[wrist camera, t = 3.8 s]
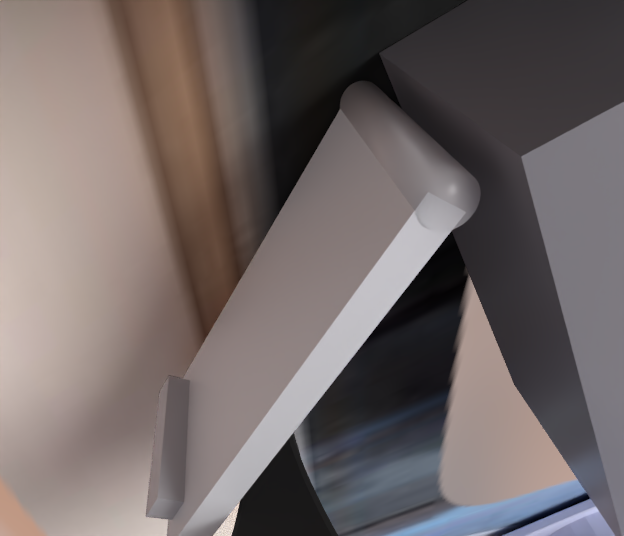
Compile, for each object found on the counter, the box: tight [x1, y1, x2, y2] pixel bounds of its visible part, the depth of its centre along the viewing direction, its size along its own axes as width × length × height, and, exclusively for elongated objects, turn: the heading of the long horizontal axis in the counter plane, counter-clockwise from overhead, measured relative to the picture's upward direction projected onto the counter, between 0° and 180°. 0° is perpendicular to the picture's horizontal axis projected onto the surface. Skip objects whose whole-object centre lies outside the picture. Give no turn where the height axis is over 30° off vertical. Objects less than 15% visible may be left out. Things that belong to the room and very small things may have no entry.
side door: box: [146, 81, 481, 536], centre depth 9 cm, size 8×1×4 cm, turn 150°
